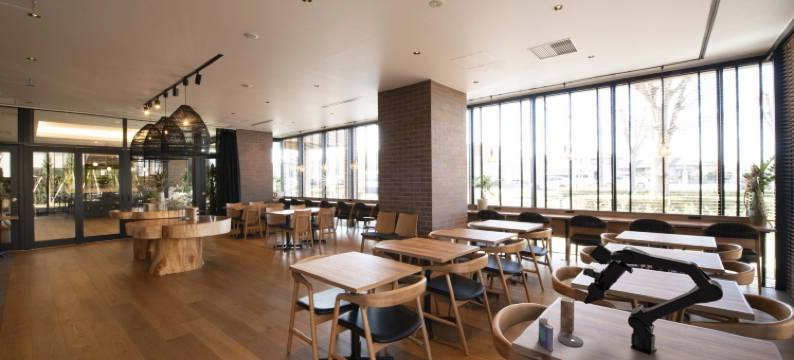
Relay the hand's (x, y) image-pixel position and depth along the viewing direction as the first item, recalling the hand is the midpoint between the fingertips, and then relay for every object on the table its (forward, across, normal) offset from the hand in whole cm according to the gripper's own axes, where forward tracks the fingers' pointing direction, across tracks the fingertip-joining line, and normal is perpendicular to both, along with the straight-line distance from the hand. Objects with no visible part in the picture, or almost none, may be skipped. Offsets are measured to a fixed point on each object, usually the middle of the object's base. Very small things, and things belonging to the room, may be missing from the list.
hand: (587, 299), depth 145 cm
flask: (+18, +21, -1) cm, 27 cm away
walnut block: (+16, +2, +2) cm, 16 cm away
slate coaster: (+14, +11, +5) cm, 18 cm away
